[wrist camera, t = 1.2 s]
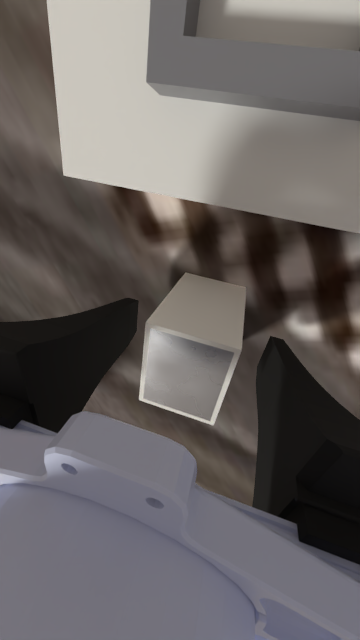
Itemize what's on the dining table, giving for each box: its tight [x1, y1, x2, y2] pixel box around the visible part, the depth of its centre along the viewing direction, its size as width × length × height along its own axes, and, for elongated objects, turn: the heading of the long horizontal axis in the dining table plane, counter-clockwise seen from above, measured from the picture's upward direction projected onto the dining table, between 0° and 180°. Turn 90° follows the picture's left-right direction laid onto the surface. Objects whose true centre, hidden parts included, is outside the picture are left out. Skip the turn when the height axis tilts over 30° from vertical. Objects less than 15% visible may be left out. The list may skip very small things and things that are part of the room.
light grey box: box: [139, 272, 247, 425], centre depth 12 cm, size 4×4×6 cm
